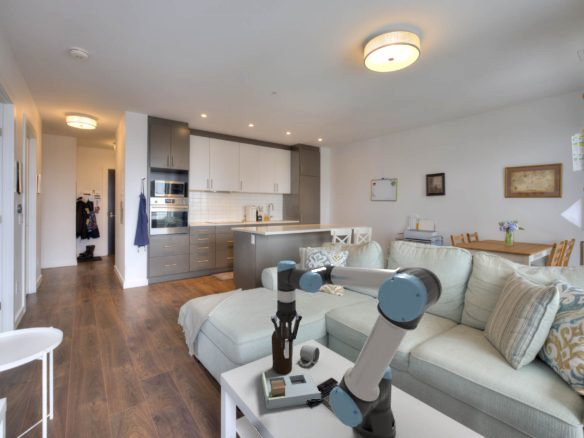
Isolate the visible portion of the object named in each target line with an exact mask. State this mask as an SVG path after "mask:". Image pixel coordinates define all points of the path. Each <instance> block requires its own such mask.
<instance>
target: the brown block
mask: <svg viewBox="0 0 584 438" xmlns="http://www.w3.org/2000/svg"><path fill="white" fill-rule="evenodd" d="M271 393H272V397H273V398H274V397H281V396H284V397H285V385H284V382H283V380H279V381H271Z"/></svg>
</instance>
